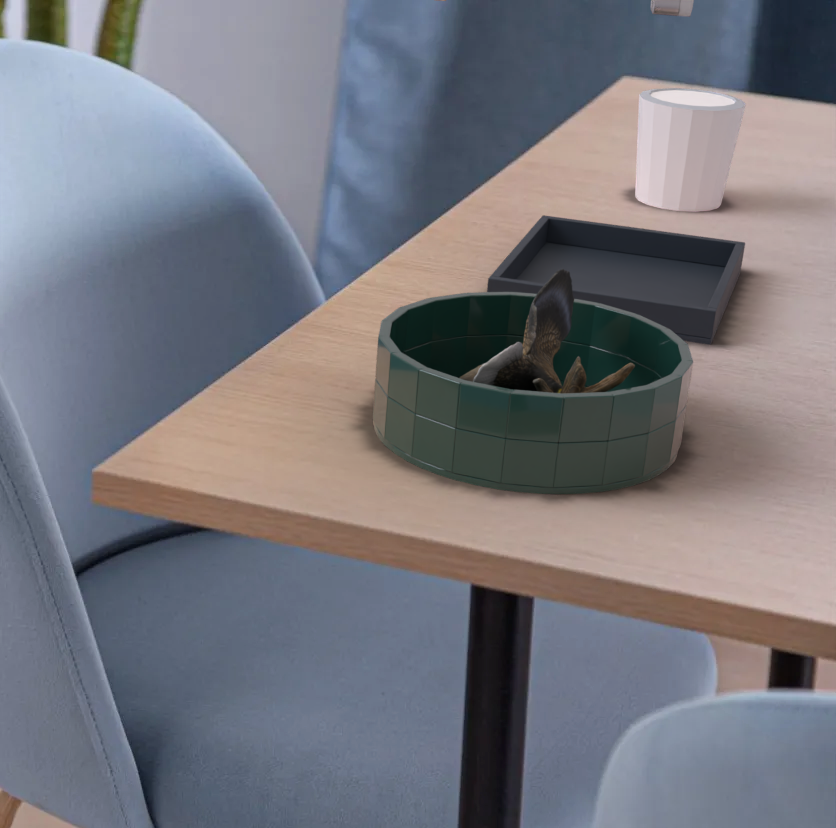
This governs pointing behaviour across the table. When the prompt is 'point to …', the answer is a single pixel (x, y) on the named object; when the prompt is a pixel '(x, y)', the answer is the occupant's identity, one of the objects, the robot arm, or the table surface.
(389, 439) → the pot
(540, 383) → the eagle figurine
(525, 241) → the tray
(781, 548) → the table surface
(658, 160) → the white cup
